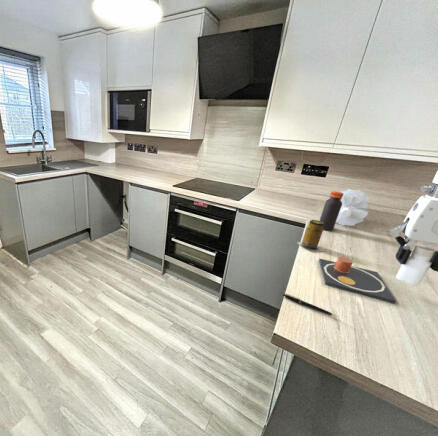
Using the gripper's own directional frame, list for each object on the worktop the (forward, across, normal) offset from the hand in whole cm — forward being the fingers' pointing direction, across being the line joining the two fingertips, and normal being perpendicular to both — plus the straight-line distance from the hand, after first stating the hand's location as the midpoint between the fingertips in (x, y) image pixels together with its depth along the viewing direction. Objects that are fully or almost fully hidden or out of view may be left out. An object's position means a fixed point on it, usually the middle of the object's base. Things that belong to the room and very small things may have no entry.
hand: (416, 264), depth 58 cm
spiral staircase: (+20, +7, +92) cm, 94 cm away
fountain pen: (+19, -18, -4) cm, 27 cm away
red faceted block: (+18, -6, +25) cm, 31 cm away
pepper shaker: (+5, 0, 0) cm, 5 cm away
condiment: (+19, -14, +42) cm, 49 cm away
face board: (+19, -3, +21) cm, 29 cm away
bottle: (+20, -4, +72) cm, 75 cm away
